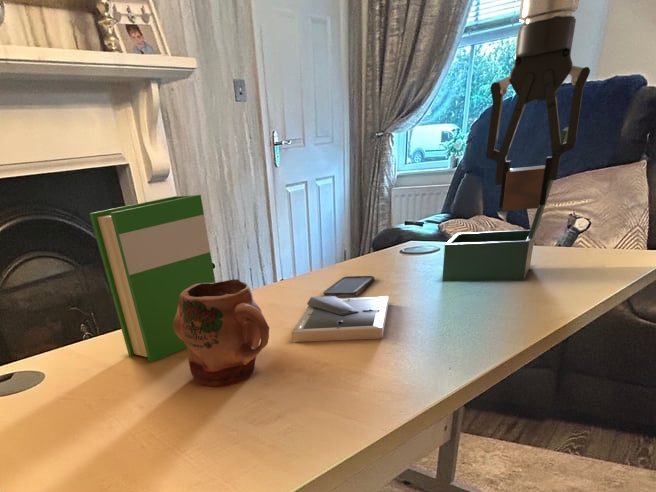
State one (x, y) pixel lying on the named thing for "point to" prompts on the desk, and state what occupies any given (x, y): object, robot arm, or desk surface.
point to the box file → (488, 256)
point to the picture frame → (342, 319)
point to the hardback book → (153, 267)
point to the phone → (349, 286)
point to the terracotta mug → (221, 331)
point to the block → (523, 188)
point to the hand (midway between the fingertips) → (522, 205)
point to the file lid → (541, 207)
